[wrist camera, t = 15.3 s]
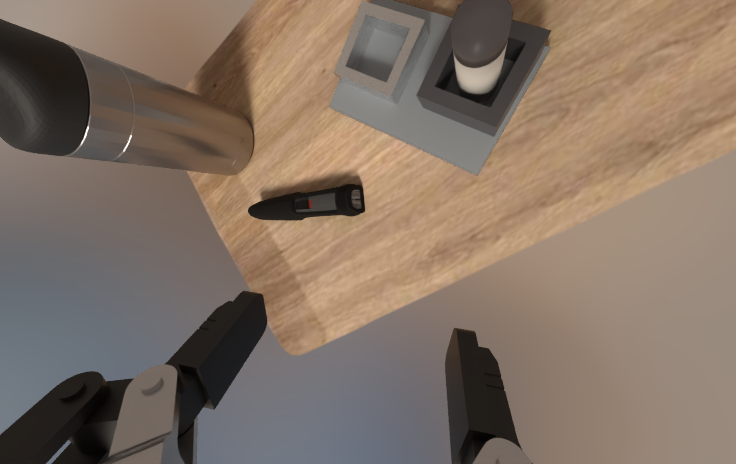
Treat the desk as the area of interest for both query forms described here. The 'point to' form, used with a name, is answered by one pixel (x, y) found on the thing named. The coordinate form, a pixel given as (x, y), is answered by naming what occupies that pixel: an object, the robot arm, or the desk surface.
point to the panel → (409, 115)
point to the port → (525, 52)
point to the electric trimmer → (312, 204)
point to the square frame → (358, 42)
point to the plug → (480, 46)
